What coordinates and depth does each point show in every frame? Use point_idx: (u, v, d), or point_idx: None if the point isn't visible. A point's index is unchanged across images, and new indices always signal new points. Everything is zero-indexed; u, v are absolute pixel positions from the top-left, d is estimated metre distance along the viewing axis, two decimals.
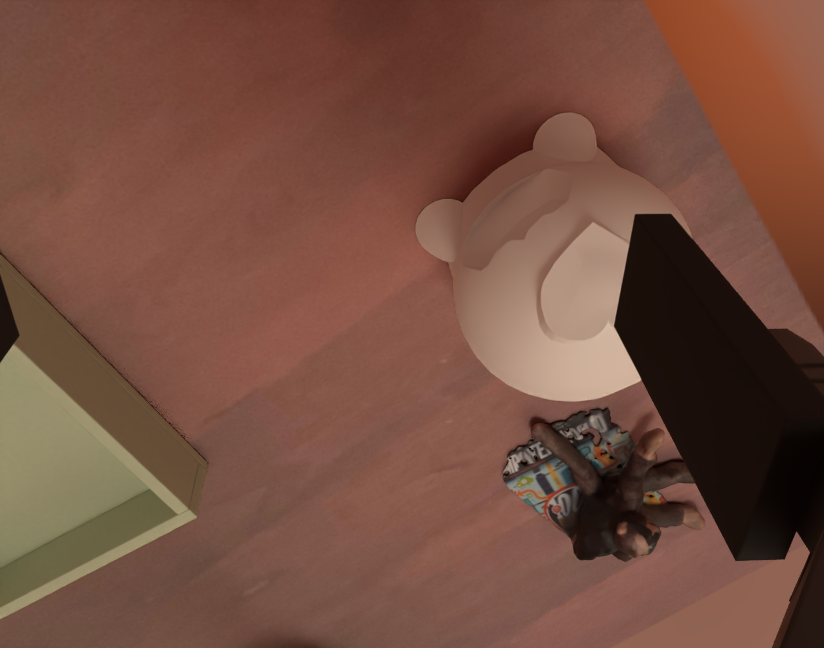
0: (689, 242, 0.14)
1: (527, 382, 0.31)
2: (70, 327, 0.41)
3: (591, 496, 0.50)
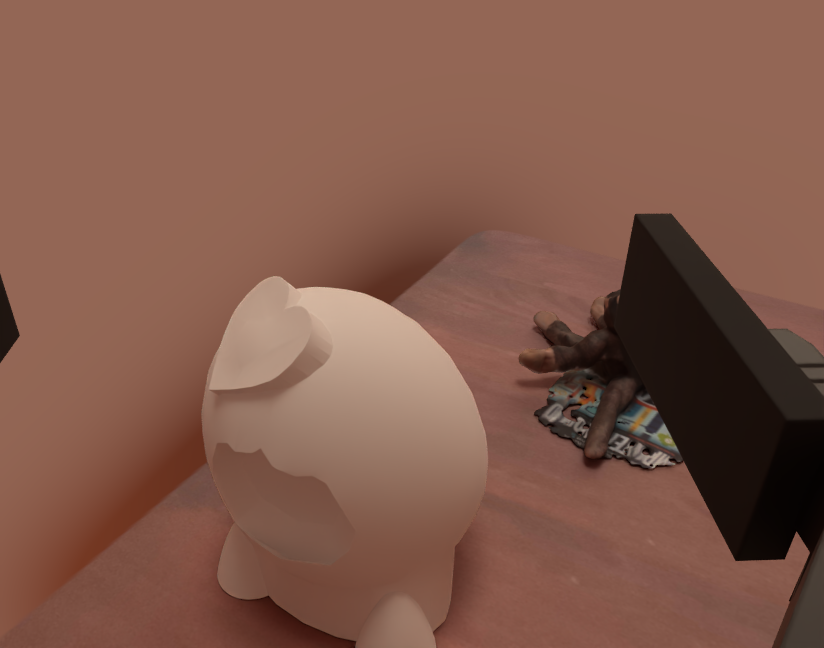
0: (689, 242, 0.14)
1: (417, 367, 0.26)
2: None
3: (631, 376, 0.44)
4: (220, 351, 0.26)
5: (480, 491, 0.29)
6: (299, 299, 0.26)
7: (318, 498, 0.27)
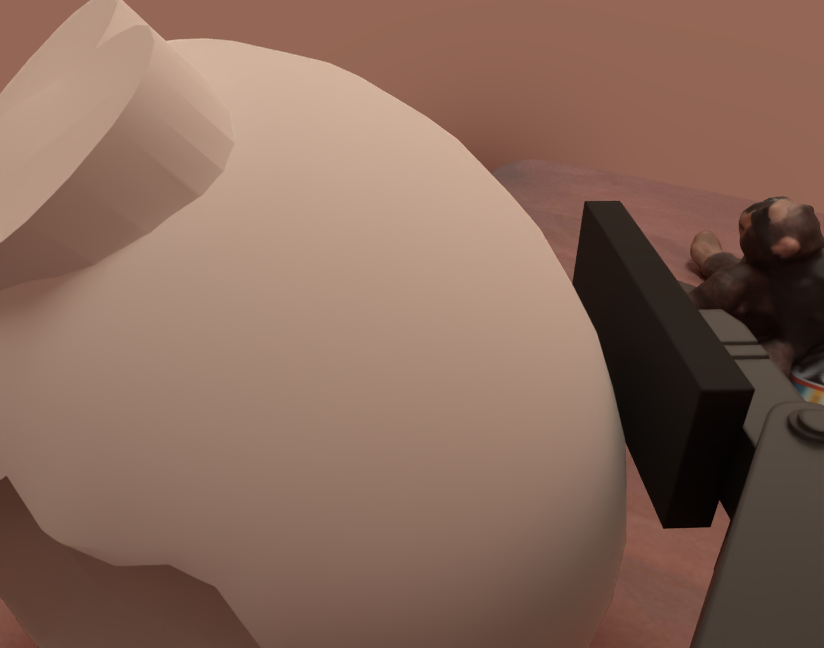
0: (633, 227, 0.15)
1: (494, 236, 0.09)
2: None
3: (786, 339, 0.27)
4: None
5: (619, 564, 0.13)
6: None
7: (222, 603, 0.10)
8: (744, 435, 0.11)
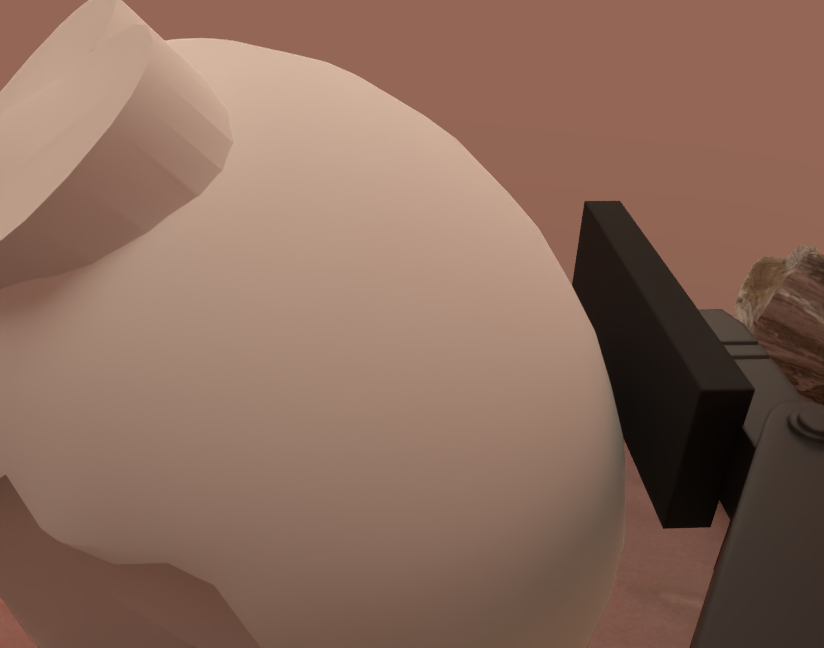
0: (633, 227, 0.15)
1: (493, 235, 0.09)
2: None
3: None
4: None
5: (618, 563, 0.13)
6: None
7: (221, 602, 0.10)
8: (744, 435, 0.11)
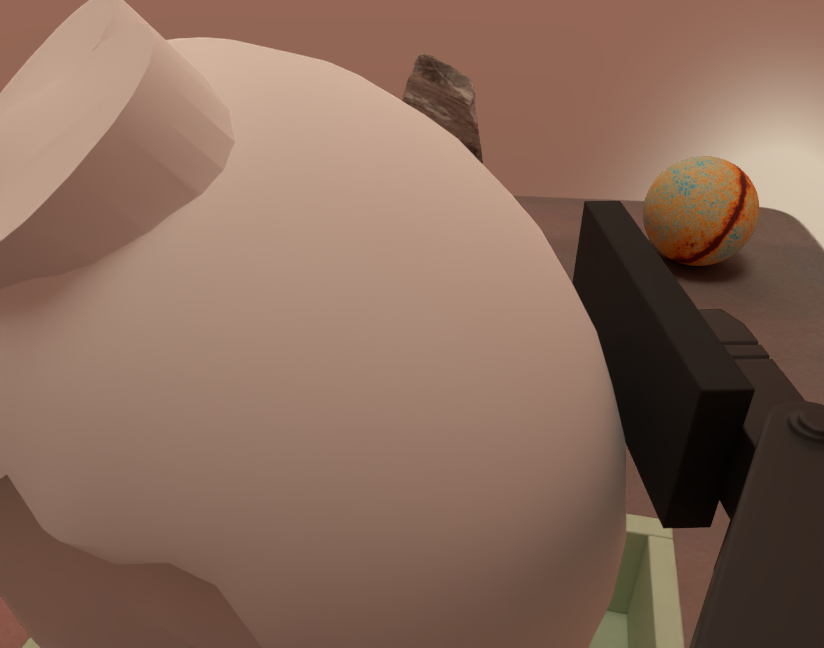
0: (633, 227, 0.15)
1: (494, 235, 0.09)
2: None
3: None
4: None
5: (619, 563, 0.13)
6: None
7: (223, 602, 0.10)
8: (745, 435, 0.11)
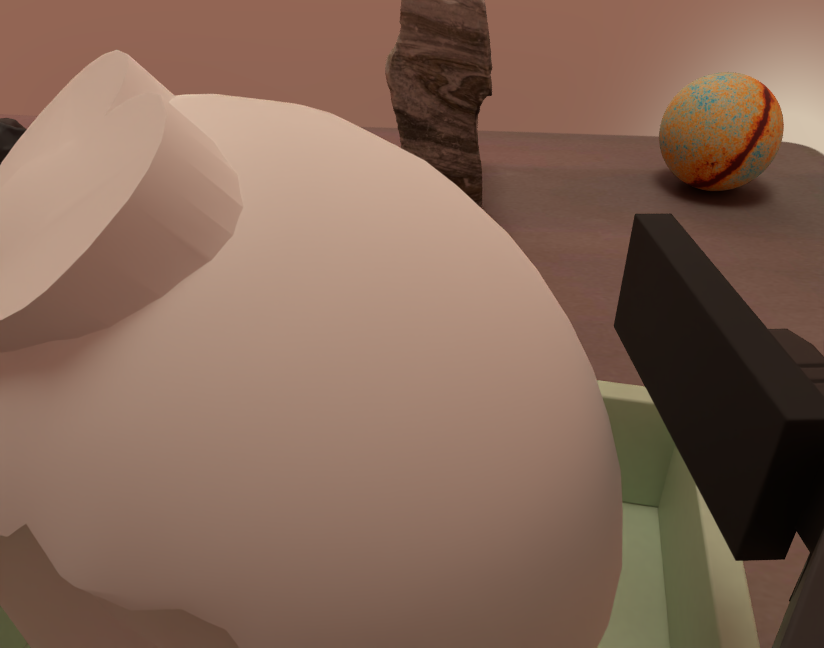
0: (689, 242, 0.14)
1: (492, 286, 0.09)
2: None
3: None
4: None
5: (615, 590, 0.13)
6: None
7: None
8: None
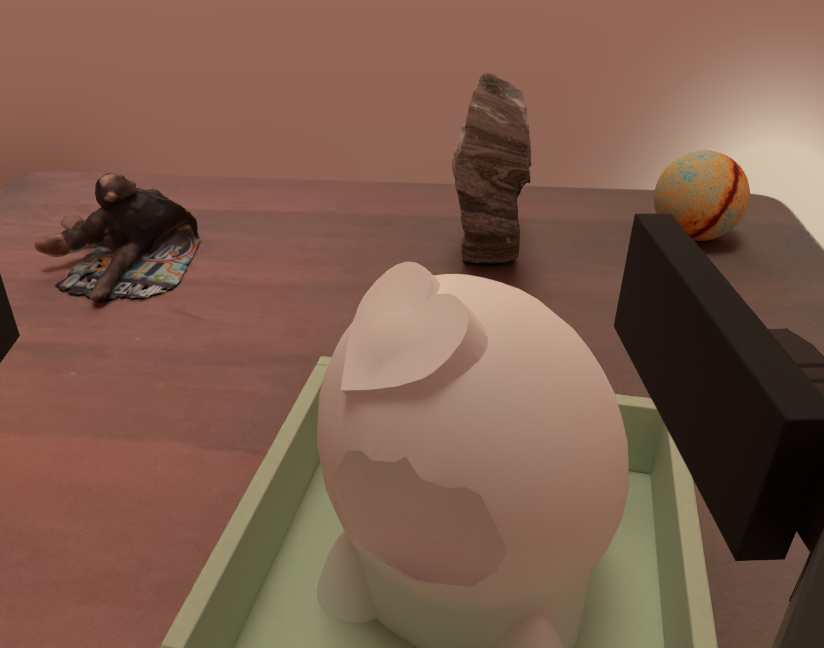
0: (689, 242, 0.14)
1: (575, 362, 0.23)
2: None
3: (132, 241, 0.56)
4: (349, 347, 0.23)
5: (625, 501, 0.26)
6: (439, 286, 0.23)
7: (456, 512, 0.24)
8: None
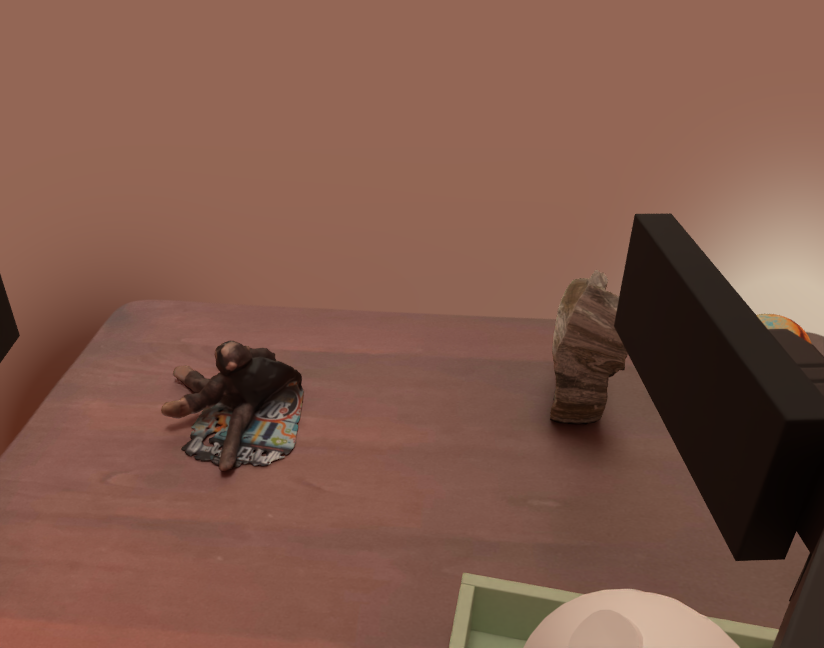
0: (689, 242, 0.14)
1: None
2: None
3: (247, 402, 0.60)
4: None
5: None
6: (642, 639, 0.27)
7: None
8: None
